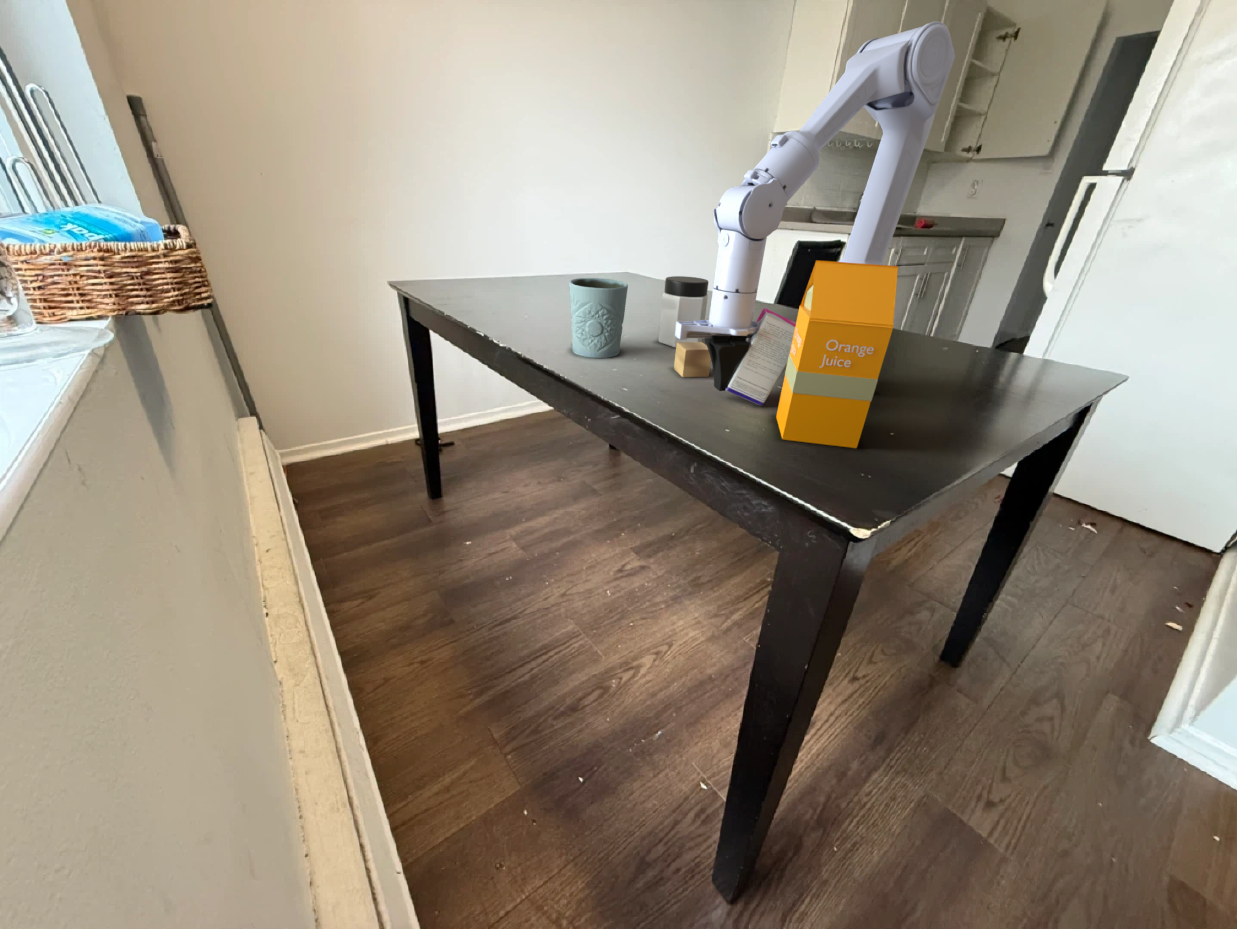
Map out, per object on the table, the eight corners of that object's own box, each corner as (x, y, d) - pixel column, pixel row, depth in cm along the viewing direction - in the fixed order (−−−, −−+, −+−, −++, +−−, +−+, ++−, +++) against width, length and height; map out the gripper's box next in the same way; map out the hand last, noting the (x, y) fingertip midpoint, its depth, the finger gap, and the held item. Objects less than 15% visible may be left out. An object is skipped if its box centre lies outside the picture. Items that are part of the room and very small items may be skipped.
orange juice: (857, 448, 60) (911, 270, 51) (781, 439, 61) (820, 264, 52) (843, 423, 67) (888, 262, 58) (775, 416, 68) (809, 256, 59)
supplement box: (763, 407, 71) (806, 331, 65) (725, 391, 71) (764, 313, 65) (760, 394, 76) (800, 322, 71) (724, 378, 76) (761, 305, 70)
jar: (695, 337, 105) (703, 276, 100) (708, 348, 98) (716, 283, 92) (653, 337, 104) (658, 275, 98) (663, 348, 97) (669, 282, 91)
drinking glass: (599, 341, 98) (601, 276, 93) (636, 354, 92) (640, 285, 86) (557, 349, 92) (557, 280, 86) (593, 363, 86) (595, 289, 80)
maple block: (699, 368, 86) (702, 342, 84) (708, 376, 82) (712, 349, 80) (673, 368, 85) (676, 342, 83) (682, 377, 81) (685, 349, 79)
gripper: (693, 293, 61) (680, 399, 68) (800, 296, 64) (779, 397, 71) (675, 284, 67) (665, 382, 74) (774, 287, 70) (756, 381, 77)
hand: (719, 388), depth 73 cm, fingers closed
